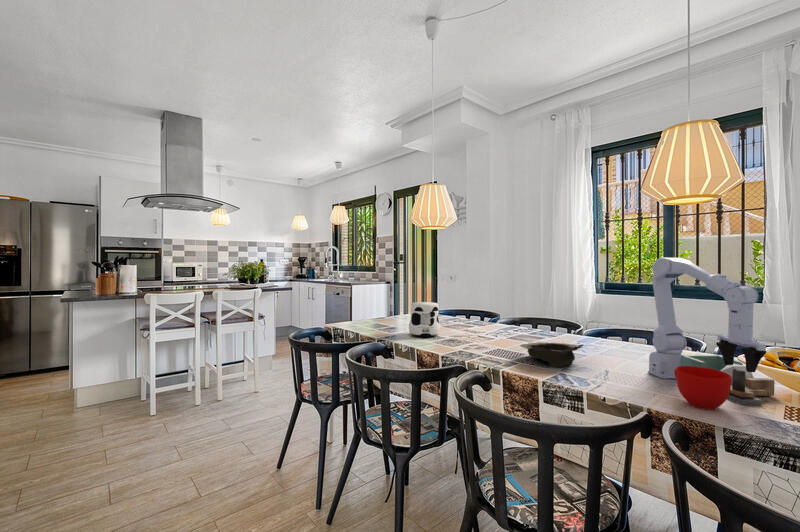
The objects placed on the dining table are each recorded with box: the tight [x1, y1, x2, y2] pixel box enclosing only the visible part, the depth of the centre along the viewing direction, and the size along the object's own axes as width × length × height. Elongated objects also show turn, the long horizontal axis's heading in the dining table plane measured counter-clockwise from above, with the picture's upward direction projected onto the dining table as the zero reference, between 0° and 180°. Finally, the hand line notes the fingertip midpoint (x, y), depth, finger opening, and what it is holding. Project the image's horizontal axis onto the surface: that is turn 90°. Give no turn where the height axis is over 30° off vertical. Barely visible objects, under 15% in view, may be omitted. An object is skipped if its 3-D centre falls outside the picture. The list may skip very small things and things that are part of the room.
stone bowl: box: [519, 342, 584, 368], centre depth 161 cm, size 25×25×9 cm
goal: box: [681, 354, 744, 371], centre depth 140 cm, size 15×10×7 cm, turn 91°
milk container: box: [408, 301, 441, 338], centre depth 213 cm, size 17×17×18 cm
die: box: [720, 364, 755, 386], centre depth 129 cm, size 8×9×10 cm
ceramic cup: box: [675, 366, 732, 411], centre depth 115 cm, size 13×17×10 cm
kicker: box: [730, 369, 776, 398], centre depth 119 cm, size 16×7×9 cm, turn 91°
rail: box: [726, 393, 763, 406], centre depth 123 cm, size 6×18×2 cm, turn 1°
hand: (739, 368), depth 119 cm, fingers open, 7 cm apart
